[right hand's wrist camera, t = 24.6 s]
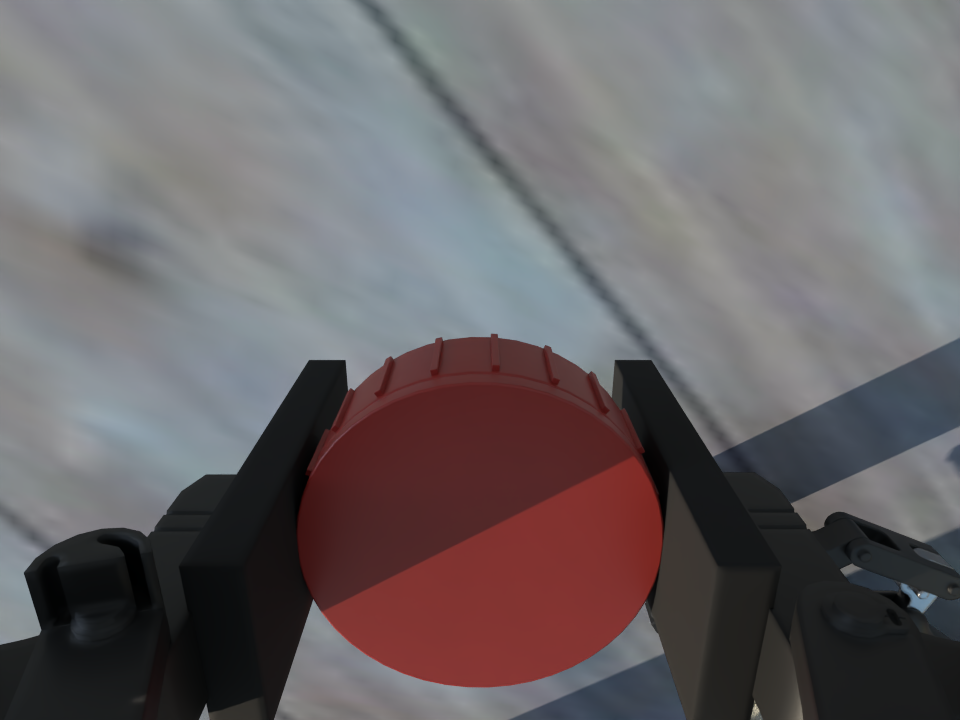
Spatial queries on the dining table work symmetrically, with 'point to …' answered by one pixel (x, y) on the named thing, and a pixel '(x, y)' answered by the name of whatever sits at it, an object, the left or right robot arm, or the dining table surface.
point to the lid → (480, 515)
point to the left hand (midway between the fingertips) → (692, 559)
